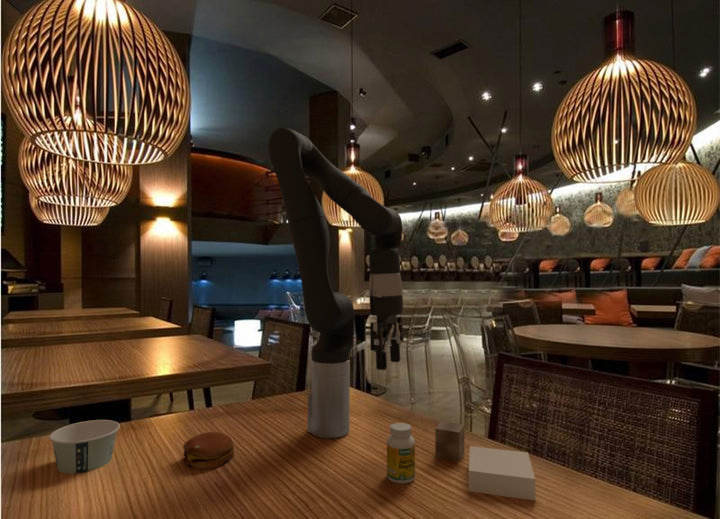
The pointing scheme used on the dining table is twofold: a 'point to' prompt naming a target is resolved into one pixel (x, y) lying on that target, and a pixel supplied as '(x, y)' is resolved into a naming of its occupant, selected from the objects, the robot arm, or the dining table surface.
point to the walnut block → (449, 441)
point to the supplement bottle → (400, 454)
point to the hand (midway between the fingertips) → (388, 365)
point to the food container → (84, 445)
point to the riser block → (501, 473)
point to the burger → (208, 450)
